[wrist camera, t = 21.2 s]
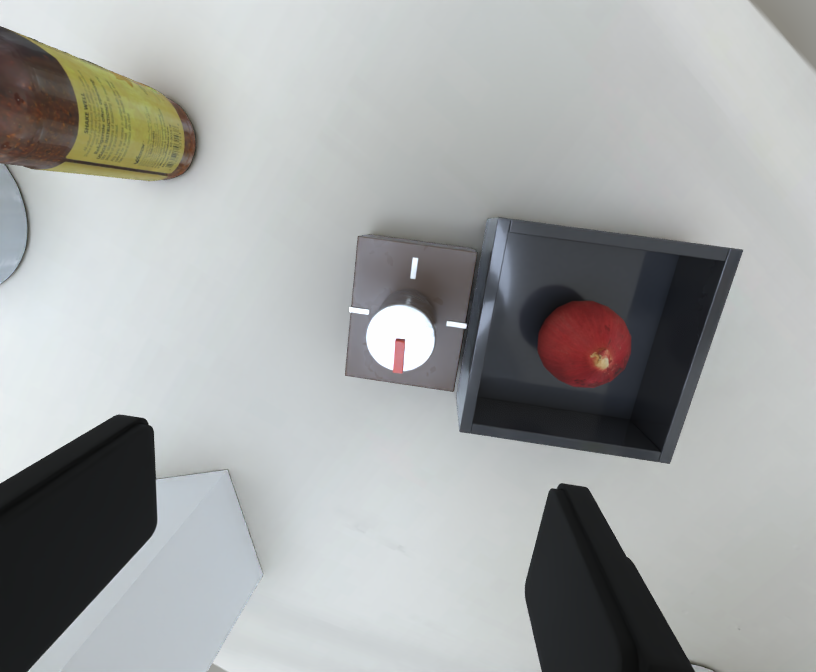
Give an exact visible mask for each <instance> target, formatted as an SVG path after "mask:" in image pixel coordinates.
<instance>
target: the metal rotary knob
mask: <svg viewBox="0 0 816 672" xmlns="http://www.w3.org/2000/svg"><path fill="white" fill-rule="evenodd" d="M436 323H437V315H436V310H435V307H434V305H433V303H432V301H431V300H430V299H429V298H428V297H427V296H426V295H425V294H423V293H421V292H419V291H417V290H413V289H401V290H398V291H395V292H393V293H392V294H390V295H389V296H388V297H387V298H386V299H385V300H384V301H383V303H382V304H381V306H380V307H379V308H378V310H377V311H376V312H375V314H374V315H373V317H372V318H371V320H370V321H369V323H368V326H367V329H366V345H367V348H368V351H369V353H370V354H371V356H372V357H373V359H374V360H375V361H376V362H377V363H378V364H380V365H381V366H383V367H384V368H387V369H389V370H392V371H393V373H401V374H402V373H403V372H406V371H411V370H414V369H417V368H419V367H420V366H422V365H423V364H424V363H426V362H427V361H428V359H429V358H430V357H431V355H432V353H433V351H434V348H435V344H436Z"/></svg>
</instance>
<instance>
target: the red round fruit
mask: <svg viewBox="0 0 816 672" xmlns="http://www.w3.org/2000/svg"><path fill="white" fill-rule="evenodd" d="M537 349H538V354H539V356H540V359H541V361H542V363H543V366H544V367H545V368H546V369H547V370H548V371H549V372H550V373H551V374H552V375H553V376H554V377H556V378H557V379H558V380H559V381H562V382H564V383H566V384H568V385H571V386H573V387H586V388H594V387H597V386H600V385H603V384H605V383H608V382H611V381H612V380H613V379H614V378H615V377H617V376H618V375H619V374H620V373H621V372H622V371H623V370H624V369H625V367H626V364H627V362H628V359H629V357H630V354H631V335H630V333H629V331H628V328H627V326H626V324H625V322H624V320H623V319H622V318H621V317H620V316H618V315H617V314H616V313H615V312H614V311H613V310H611V309H610V308H609V307H608V306H605V305H602V304H599V303H597V302H594V301H571V302H569V303H567V304H564V305H562V306H560V307H558V308H556V309H555V310H554V311H553V312H552V313H551V314H550V315H549V316H548V317H547V318H546V319H545V321H544V323H543V325H542V327H541V329H540V330H539V332H538V346H537Z"/></svg>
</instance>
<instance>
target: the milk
mask: <svg viewBox="0 0 816 672" xmlns="http://www.w3.org/2000/svg"><path fill="white" fill-rule="evenodd" d="M156 495H157V518H158V520H157V526H156V529H155V531H154V533H153V535H152V536H151V538H150V539H149V540H148V541H147V542H146V543H145V544H144V545H143V547H142V548H141V549H140V550H139V551H138V552H137V553H136V554H135V555H134V556H133V557H132V559H131V560H130V561H129V562H128V563H127V564H126V565H125V566H124V567H123V568H122V569H121V570H120V572H119V573H118V574H117V575H116V576H115V577H114V578H113V579H112V580H111V581H110V582H109V584H108V585H107V586H106V587H105V588H104V589H103V590H102V591H101V592H100V593H99V594H98V596H97V597H96V598H95V599H94V600H93V601H92V602H91V603H90V604H89V605H88V606H87V607H86V609H85V610H84V611H83V612H82V613H81V614H80V615H79V616H78V617H77V618H76V619H75V621H74V622H73V623H72V624H71V625H70V626H69V627H68V628H67V629H66V630H65V631H64V633H63V634H62V635H61V636H60V637H59V638H58V639H57V640H56V641H55V642H54V643H53V644H52V646H51V647H50V648H49V649H48V650H47V651H46V652H45V653H44V654H43V655H42V656H41V658H40V659H39V660H38V661H37V662H36V663H35V664H34V665H33V666H32V667H31V668H30V669H29V671H28V672H207V671H208V669H209V668H210V666H211V664H212V662H213V661H214V659H215V657H216V656H217V654H218V652H219V650H220V649H221V647H222V645H223V643H224V642H225V640H226V638H227V636H228V635H229V633H230V631H231V630H232V628H233V626H234V624H235V623H236V621H237V619H238V617H239V616H240V614H241V612H242V610H243V609H244V607H245V605H246V604H247V602H248V600H249V598H250V597H251V595H252V593H253V591H254V590H255V588H256V586H257V584H258V583H259V581H260V579H261V578H262V576H263V572H262V569H261V567H260V564H259V561H258V558H257V555H256V552H255V549H254V546H253V543H252V540H251V537H250V534H249V531H248V528H247V525H246V522H245V520H244V517H243V514H242V511H241V508H240V505H239V502H238V499H237V496H236V493H235V490H234V487H233V484H232V481H231V478H230V475H229V473H228V470H222V471H214V472H207V473H199V474H192V475H184V476H177V477H170V478H162V479H156Z"/></svg>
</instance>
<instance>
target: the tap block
mask: <svg viewBox="0 0 816 672" xmlns="http://www.w3.org/2000/svg"><path fill="white" fill-rule="evenodd" d="M476 259H477V252H476V251H475V250H474V249H472V248H467V247H460V246H452V245H445V244H438V243H430V242H423V241H415V240H408V239H401V238H393V237H386V236H379V235H371V234H368V235H362V236H358V241H357V251H356V262H355V273H354V283H353V294H352V305H351V307H349V312H351V316H350V326H349V337H348V348H347V359H346V369H345V376H351V377H358V378H365V379H371V380H378V381H385V382H392V383H398V384H405V385H412V386H418V387H425V388H432V389H439V390H445V391H452V392H453V391H454V387H455V382H456V376H457V370H458V364H459V358H460V352H461V347H462V341H463V335H464V329H466V328H467V323H466V318H467V312H468V306H469V300H470V294H471V288H472V283H473V277H474V271H475V265H476ZM401 289H413V290H417V291H419V292H421V293H423V294H425V295H426V296H427V297H428V298H429V299H430V300H431V301H432V303H433V305H434V307H435V310H436V315H437V323H436V344H435V348H434V351H433V353H432V355H431V357H430V358H429V359H428V361H427V362H426V363H424V364H423V365H422V366H420V367H419V368H417V369H414V370H411V371H406V372H403V373H402V374H401V373H393V371H392V370H389V369H387V368H384V367H383V366H381V365H380V364H378V363H377V362H376V361H375V360H374V359H373V357H372V356H371V354H370V353H369V351H368V348H367V345H366V329H367V326H368V323H369V321H370V320H371V318H372V317H373V315H374V314H375V312H376V311H377V310H378V308H379V307H380V306H381V304H382V303H383V301H384V300H385V299H386V298H387V297H388V296H389V295H390V294H392V293H393V292H395V291H398V290H401Z"/></svg>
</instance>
